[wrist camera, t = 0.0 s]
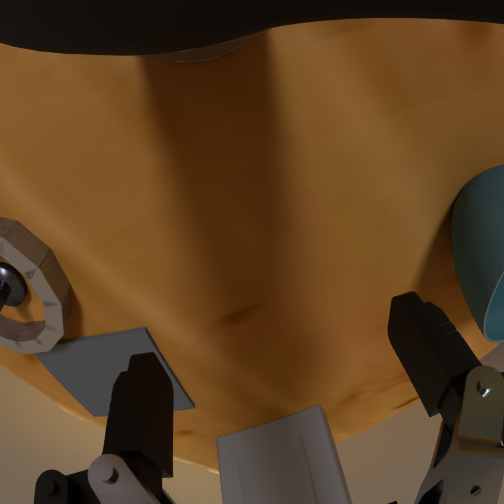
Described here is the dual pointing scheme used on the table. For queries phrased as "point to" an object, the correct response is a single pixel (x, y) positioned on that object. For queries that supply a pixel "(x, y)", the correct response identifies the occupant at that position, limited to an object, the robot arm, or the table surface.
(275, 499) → the tall grey upright block
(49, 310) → the steel ring
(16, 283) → the peg stand
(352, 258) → the table surface
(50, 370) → the rubber mat
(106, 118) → the table surface
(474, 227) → the plant pot
